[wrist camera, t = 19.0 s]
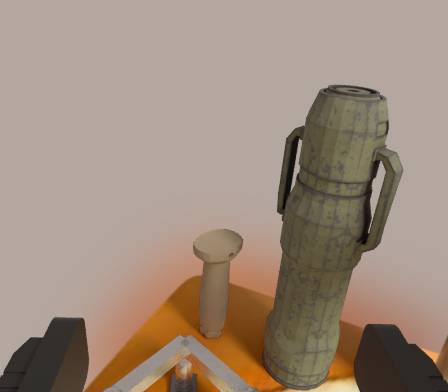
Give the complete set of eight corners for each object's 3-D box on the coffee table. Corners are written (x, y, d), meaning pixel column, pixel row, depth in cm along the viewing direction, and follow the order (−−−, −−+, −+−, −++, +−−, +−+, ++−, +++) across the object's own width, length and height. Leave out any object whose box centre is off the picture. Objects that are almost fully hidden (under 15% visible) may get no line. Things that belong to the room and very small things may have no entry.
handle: (182, 331, 53) (185, 240, 47) (217, 311, 57) (224, 225, 51) (204, 353, 50) (211, 259, 44) (239, 330, 54) (250, 241, 48)
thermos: (325, 412, 44) (412, 108, 29) (239, 359, 50) (274, 83, 35) (350, 363, 50) (432, 95, 35) (272, 321, 56) (313, 76, 41)
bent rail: (248, 377, 47) (256, 326, 44) (259, 463, 38) (269, 407, 35) (117, 376, 46) (113, 323, 42) (96, 465, 37) (90, 407, 33)
